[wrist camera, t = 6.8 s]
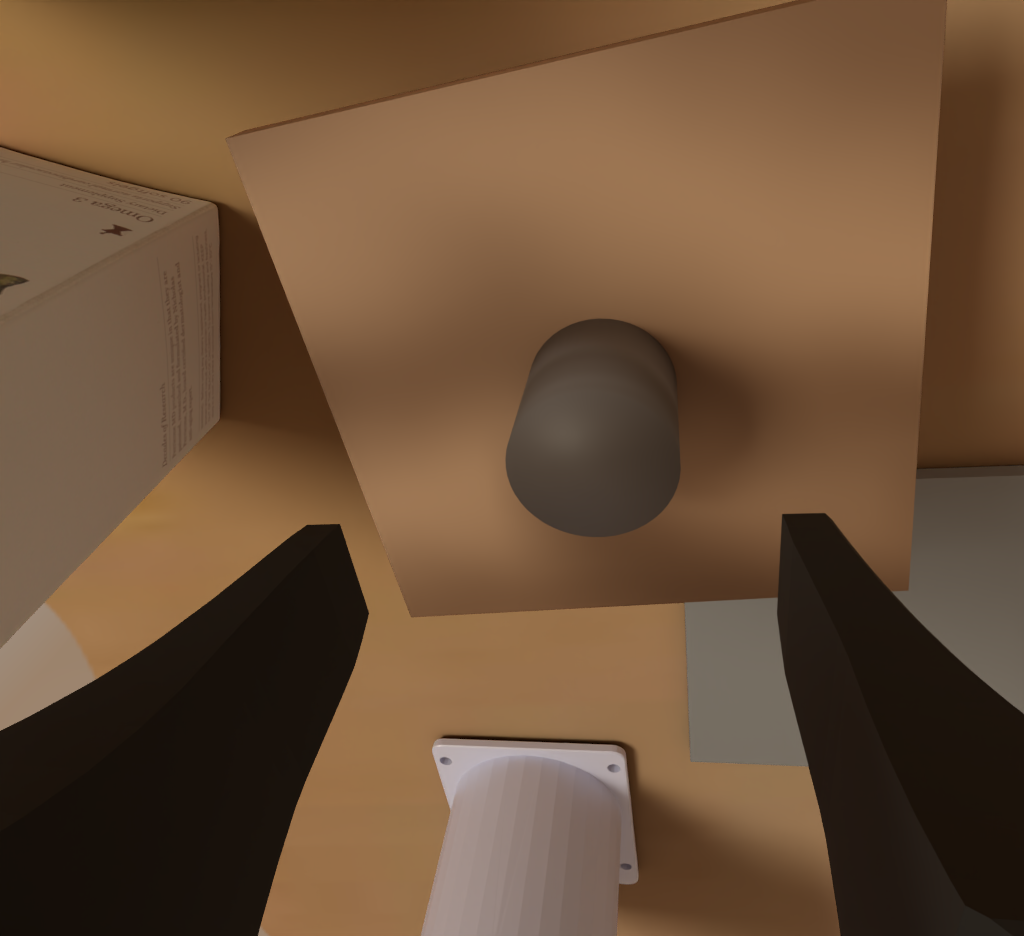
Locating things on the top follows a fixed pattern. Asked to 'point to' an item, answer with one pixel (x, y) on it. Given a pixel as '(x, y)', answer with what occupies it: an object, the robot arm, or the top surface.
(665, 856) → the top surface
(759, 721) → the slate mat
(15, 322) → the supplement box
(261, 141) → the walnut cover
